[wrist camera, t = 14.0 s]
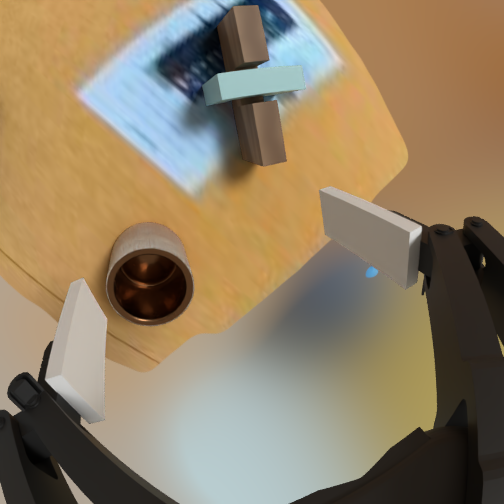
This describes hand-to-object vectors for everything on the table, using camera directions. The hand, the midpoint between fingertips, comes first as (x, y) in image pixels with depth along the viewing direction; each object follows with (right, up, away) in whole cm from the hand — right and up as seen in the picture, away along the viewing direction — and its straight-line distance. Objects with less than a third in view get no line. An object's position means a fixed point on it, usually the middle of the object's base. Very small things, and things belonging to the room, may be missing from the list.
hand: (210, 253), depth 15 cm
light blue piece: (0, +22, +21) cm, 31 cm away
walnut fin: (0, +22, +21) cm, 31 cm away
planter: (-13, -1, +27) cm, 30 cm away
